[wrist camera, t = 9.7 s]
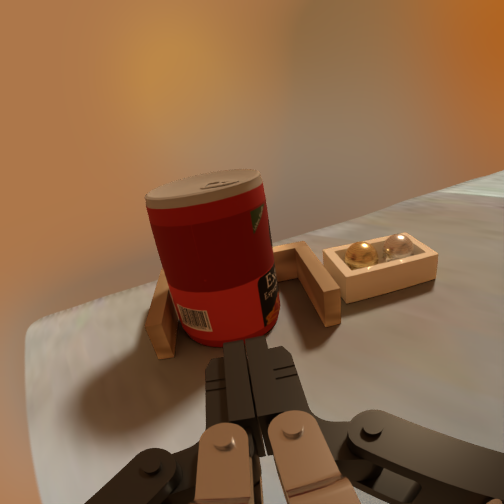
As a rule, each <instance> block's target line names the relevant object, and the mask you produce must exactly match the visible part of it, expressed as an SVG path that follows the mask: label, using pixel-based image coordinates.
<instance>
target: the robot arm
mask: <svg viewBox="0 0 504 504" xmlns="http://www.w3.org/2000/svg"><path fill="white" fill-rule="evenodd" d="M245 344H246V349H245V345H244V341H243V339H242V340H237V341H232V342H226V343H223V352H224V357H222V358H216V359H211V361H210V362H209V364H208V366H207V368H206V370H205V381H206V430H205V432H204V433H203V434H202V436H201V438H200V440H199V442H197V443H196V444H195V445H193V446H192V447H190V448H187V449H185V450H182V451H179V452H176V453H174V454H171V453H169V452H168V451H166V450H164V449H160V448H150V449H146V450H144V451H142V452H140V453H139V454H138V455H136V456H135V457H134V458H133V459H132V460H131V461H130V462H129V463H128V464H127V465H126V466H125V467H124V468H123V469H122V470H121V471H120V472H119V473H117V474H116V475H115V476H114V477H113V478H112V479H111V480H110V481H109V482H108V483H107V484H106V485H104V486H103V487H102V488H101V489H100V490H99V491H98V492H97V493H96V494H95V495H93V496H92V497H91V498H90V499H89V500H88V501H87V502H86V503H84V504H264V503H263V489H262V477H261V465H260V459H259V457H264V456H266V454H265V449H264V443H265V447H266V450H267V454H268V456H269V455H273V456H274V461H275V465H276V469H277V473H278V476H279V480H280V483H281V486H282V489H283V492H284V496H285V499H286V502H287V504H361V503H360V501H359V499H358V497H357V495H356V492H355V490H354V488H353V487H355V488H357V489H359V490H361V491H364V492H366V493H368V494H370V495H372V496H374V497H376V498H378V499H380V500H383V501H385V502H387V503H389V504H504V453H501V452H497V451H494V450H491V449H487V448H484V447H481V446H477V445H474V444H471V443H468V442H465V441H462V440H459V439H456V438H453V437H450V436H447V435H444V434H442V433H439V432H436V431H433V430H430V429H428V428H425V427H422V426H420V425H417V424H414V423H412V422H409V421H407V420H404V419H402V418H399V417H396V416H394V415H392V414H389V413H387V412H384V411H381V410H367V411H364V412H361V413H359V414H357V415H356V416H355V417H354V418H353V419H352V420H351V422H330V421H325V420H322V419H320V418H318V417H317V416H315V415H314V414H313V413H312V412H311V410H310V409H309V406H308V403H307V400H306V397H305V394H304V391H303V388H302V385H301V382H300V379H299V376H298V374H297V371H296V368H295V365H294V362H293V359H292V356H291V354H290V353H289V352H288V351H287V350H286V349H285V348H284V347H283V346H279V347H275V348H270V349H268V346H267V342H266V338H265V335H263V336H258V337H253V338H247V339H245ZM246 350H247V354H246ZM247 356H248V358H247ZM262 435H263V438H262ZM263 439H264V443H263Z"/></svg>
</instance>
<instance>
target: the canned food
mask: <svg viewBox="0 0 504 504" xmlns="http://www.w3.org/2000/svg"><path fill="white" fill-rule="evenodd" d="M145 199H146V208H147V212H148V215H149V220H150V224H151V228H152V232H153V235H154V239H155V242H156V246H157V250H158V253H159V256H160V260H161V263H162V267H163V270H164V273H165V276H166V280H167V283H168V286H169V289H170V292H171V295H172V299H173V302H174V305H175V308H176V311H177V314H178V317H179V320H180V322H181V325H182V327H183V329H184V330H185V331H186V333H187V334H188V335H189V336H190V337H191V338H192V339H193V340H194V341H196V342H198V343H200V344H203V345H206V346H212V347H223V343H226V342H232V341H237V340H242V339H243V341H244V344H245V339H247V338H253V337H258V336H263V335H264V334H265V333H267V332H268V331H269V330H270V329H271V328H272V327H273V326H274V325H275V323H276V321H277V319H278V314H279V310H280V299H279V292H278V284H277V277H276V269H275V262H274V254H273V247H272V240H271V233H270V226H269V219H268V212H267V205H266V199H265V193H264V188H263V181H262V178H261V175H260V172H259V171H256V170H251V169H235V170H225V171H217V172H211V173H206V174H201V175H196V176H192V177H188V178H184V179H180V180H177V181H174V182H170V183H168V184H165V185H163V186H160V187H157V188H155V189H153V190H152V191H150V192H149V193H148V194H146V196H145Z"/></svg>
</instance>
